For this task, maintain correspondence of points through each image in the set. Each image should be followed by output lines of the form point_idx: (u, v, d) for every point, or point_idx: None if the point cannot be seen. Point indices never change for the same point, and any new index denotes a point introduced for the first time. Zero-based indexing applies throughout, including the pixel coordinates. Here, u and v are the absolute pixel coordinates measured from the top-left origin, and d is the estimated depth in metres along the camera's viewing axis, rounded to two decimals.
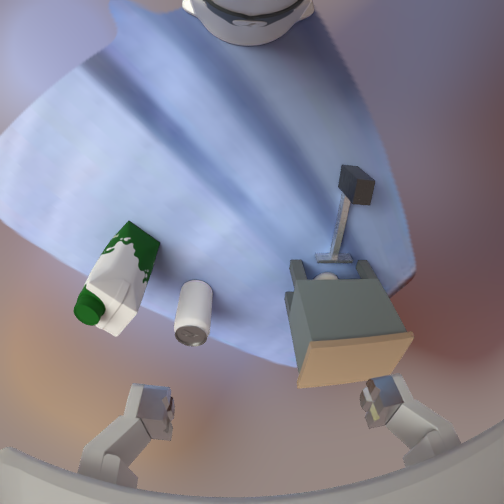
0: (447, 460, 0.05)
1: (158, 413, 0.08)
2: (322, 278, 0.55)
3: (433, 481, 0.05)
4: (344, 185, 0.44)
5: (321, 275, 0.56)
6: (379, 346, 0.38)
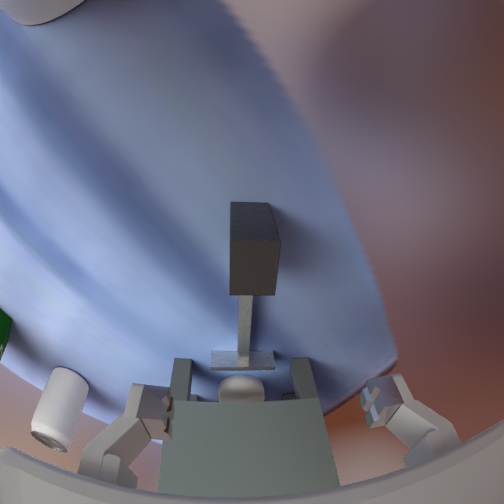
0: (447, 460, 0.05)
1: (158, 413, 0.08)
2: (231, 386, 0.32)
3: (433, 481, 0.05)
4: None
5: (231, 380, 0.33)
6: None
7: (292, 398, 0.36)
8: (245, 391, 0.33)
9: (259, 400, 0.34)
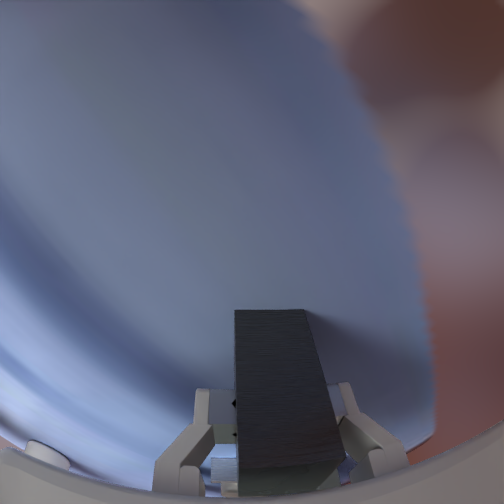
0: (447, 460, 0.05)
1: (230, 417, 0.09)
2: None
3: (433, 481, 0.05)
4: None
5: None
6: None
7: None
8: None
9: None
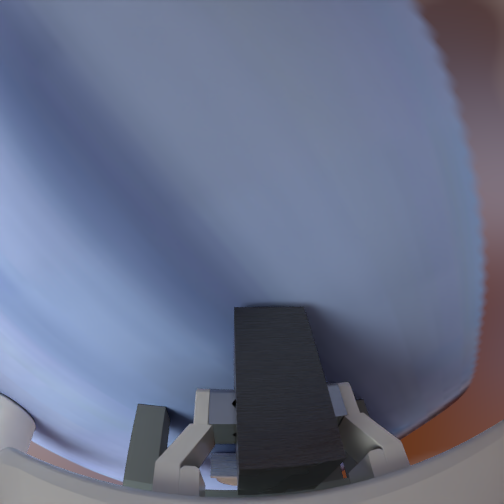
0: (447, 460, 0.05)
1: (230, 417, 0.09)
2: None
3: (433, 481, 0.05)
4: None
5: None
6: None
7: None
8: None
9: None
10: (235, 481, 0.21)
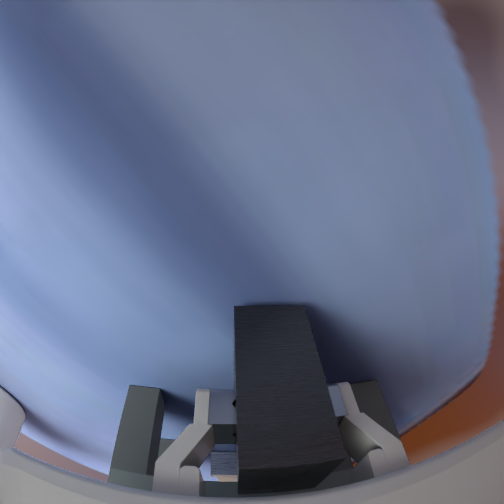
0: (447, 460, 0.05)
1: (230, 417, 0.09)
2: None
3: (433, 481, 0.05)
4: None
5: None
6: None
7: None
8: None
9: None
10: (236, 481, 0.21)
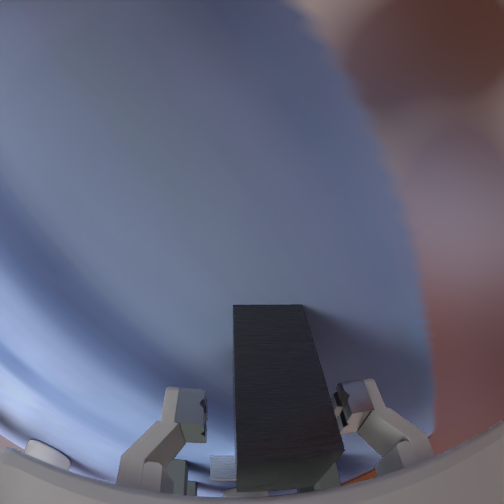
0: (447, 460, 0.05)
1: (197, 416, 0.09)
2: None
3: (433, 481, 0.05)
4: None
5: (244, 492, 0.26)
6: None
7: None
8: None
9: None
10: None
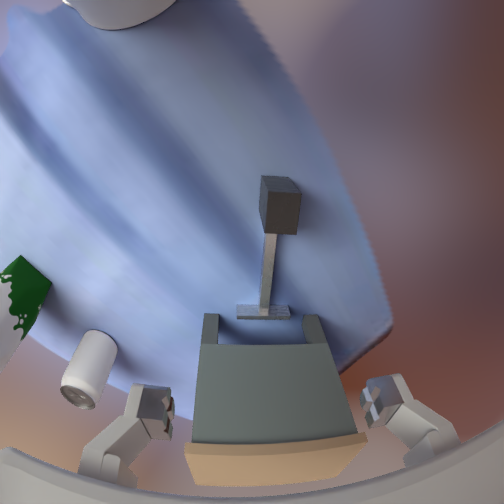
0: (447, 460, 0.05)
1: (158, 413, 0.08)
2: None
3: (433, 481, 0.05)
4: (261, 205, 0.30)
5: None
6: (305, 456, 0.21)
7: None
8: None
9: None
10: None
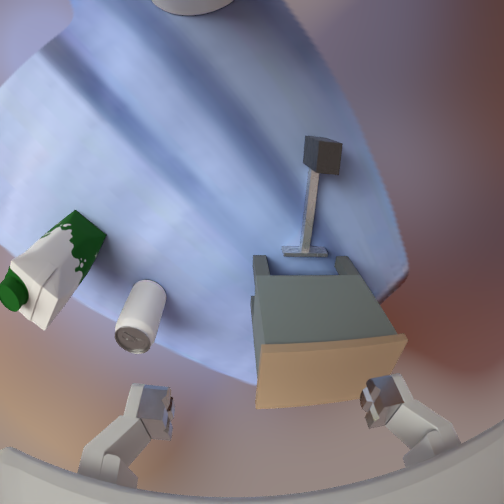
0: (447, 460, 0.05)
1: (158, 413, 0.08)
2: None
3: (433, 481, 0.05)
4: (308, 156, 0.37)
5: None
6: (360, 353, 0.29)
7: None
8: None
9: None
10: None
